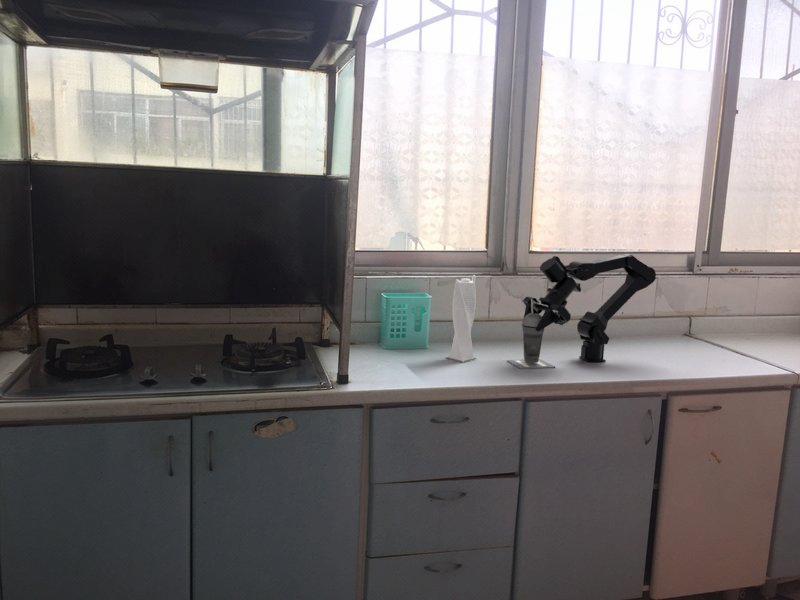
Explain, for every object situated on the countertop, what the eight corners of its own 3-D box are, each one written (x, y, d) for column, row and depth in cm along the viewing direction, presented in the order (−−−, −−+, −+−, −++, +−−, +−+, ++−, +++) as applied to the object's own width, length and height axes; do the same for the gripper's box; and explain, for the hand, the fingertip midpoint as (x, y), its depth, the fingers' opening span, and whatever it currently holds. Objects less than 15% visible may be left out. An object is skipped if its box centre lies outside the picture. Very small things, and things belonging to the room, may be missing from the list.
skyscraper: (479, 360, 223) (484, 274, 219) (464, 364, 217) (469, 276, 213) (459, 355, 228) (463, 271, 224) (443, 359, 223) (448, 273, 218)
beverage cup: (535, 365, 214) (539, 301, 211) (515, 360, 219) (519, 299, 216) (546, 361, 220) (551, 299, 217) (526, 357, 225) (530, 296, 221)
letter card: (540, 360, 226) (540, 358, 226) (555, 367, 216) (555, 366, 216) (506, 361, 223) (506, 360, 223) (520, 369, 213) (520, 367, 213)
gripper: (592, 314, 215) (562, 351, 212) (554, 304, 232) (526, 338, 229) (574, 290, 211) (542, 327, 208) (537, 282, 227) (507, 316, 224)
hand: (529, 328), depth 217 cm, fingers closed on beverage cup, 7 cm apart
